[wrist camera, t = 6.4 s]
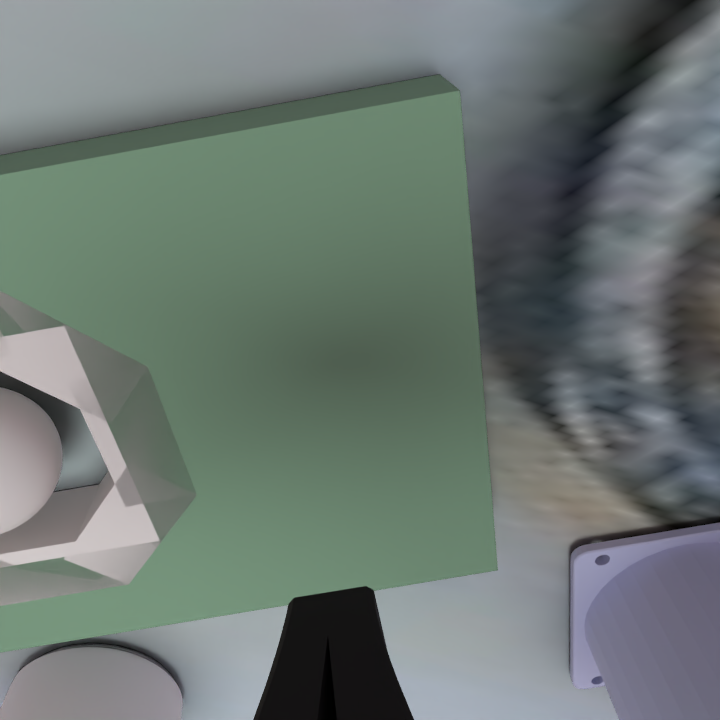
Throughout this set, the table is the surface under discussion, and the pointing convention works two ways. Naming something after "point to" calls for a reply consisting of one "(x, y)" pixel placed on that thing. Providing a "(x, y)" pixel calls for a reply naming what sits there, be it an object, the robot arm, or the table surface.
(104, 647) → the can
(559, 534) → the table surface
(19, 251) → the putting mat
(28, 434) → the ball
